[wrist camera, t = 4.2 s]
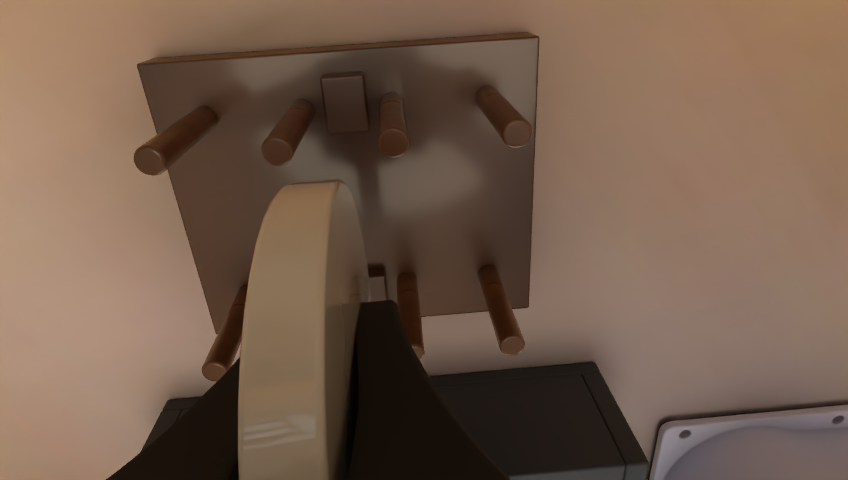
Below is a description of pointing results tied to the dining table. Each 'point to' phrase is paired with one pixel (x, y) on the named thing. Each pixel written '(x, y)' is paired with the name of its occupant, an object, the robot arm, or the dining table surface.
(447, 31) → the dining table surface
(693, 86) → the dining table surface
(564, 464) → the dark grey open box
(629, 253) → the dining table surface
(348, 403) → the saucer
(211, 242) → the dish rack
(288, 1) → the dining table surface
